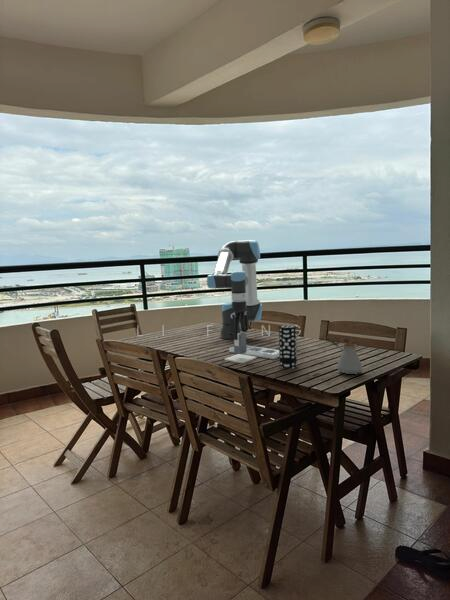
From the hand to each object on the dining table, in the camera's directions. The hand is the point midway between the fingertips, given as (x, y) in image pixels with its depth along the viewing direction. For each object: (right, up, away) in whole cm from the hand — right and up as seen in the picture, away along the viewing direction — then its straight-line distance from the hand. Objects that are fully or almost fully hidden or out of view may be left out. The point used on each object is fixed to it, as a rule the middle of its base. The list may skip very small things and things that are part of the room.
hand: (240, 344), depth 221 cm
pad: (0, -8, +1) cm, 8 cm away
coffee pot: (+47, -10, -25) cm, 54 cm away
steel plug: (0, -4, 0) cm, 4 cm away
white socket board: (+9, -6, +12) cm, 16 cm away
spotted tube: (+23, -9, -15) cm, 29 cm away
